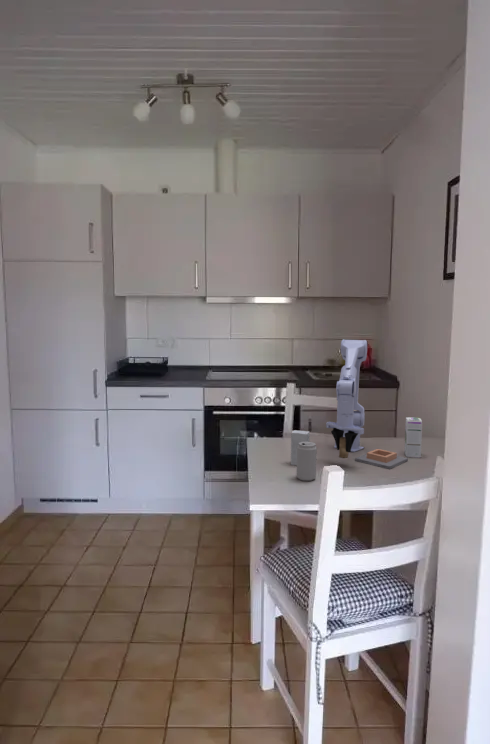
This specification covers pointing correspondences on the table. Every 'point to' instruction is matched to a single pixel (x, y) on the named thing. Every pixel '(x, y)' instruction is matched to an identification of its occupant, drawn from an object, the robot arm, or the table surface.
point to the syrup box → (413, 437)
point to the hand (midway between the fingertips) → (343, 450)
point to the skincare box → (297, 443)
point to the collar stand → (382, 458)
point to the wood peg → (343, 448)
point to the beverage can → (306, 461)
